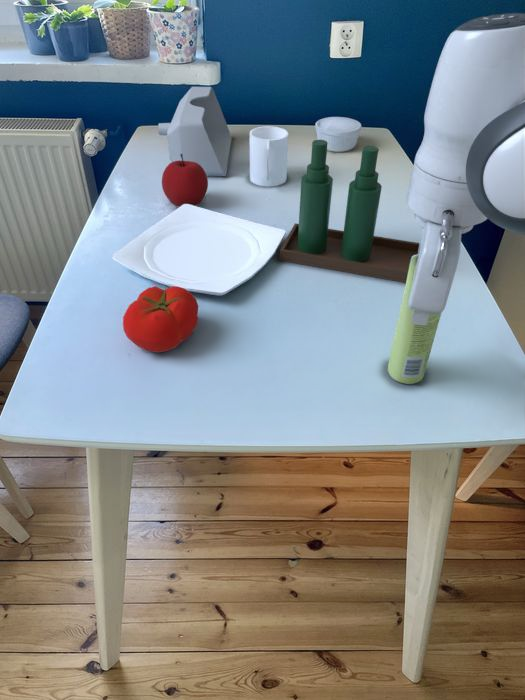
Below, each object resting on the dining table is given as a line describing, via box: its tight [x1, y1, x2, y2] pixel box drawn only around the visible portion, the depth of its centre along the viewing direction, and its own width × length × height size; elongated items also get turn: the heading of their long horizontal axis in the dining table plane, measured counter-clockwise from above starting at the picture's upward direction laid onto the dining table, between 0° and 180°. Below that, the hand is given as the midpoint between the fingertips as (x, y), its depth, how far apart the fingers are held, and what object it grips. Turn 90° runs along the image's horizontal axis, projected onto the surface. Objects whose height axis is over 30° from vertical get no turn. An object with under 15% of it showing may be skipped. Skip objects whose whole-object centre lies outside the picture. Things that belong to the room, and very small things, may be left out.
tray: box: [279, 222, 420, 284], centre depth 95 cm, size 25×10×2 cm, turn 72°
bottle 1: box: [297, 139, 334, 255], centre depth 91 cm, size 5×5×19 cm
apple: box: [161, 154, 209, 208], centre depth 108 cm, size 9×9×10 cm
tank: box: [157, 86, 232, 177], centre depth 126 cm, size 25×16×12 cm, turn 179°
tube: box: [387, 254, 442, 385], centre depth 68 cm, size 6×5×20 cm
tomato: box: [122, 285, 199, 353], centre depth 78 cm, size 10×11×6 cm
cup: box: [249, 125, 289, 188], centre depth 116 cm, size 8×12×10 cm
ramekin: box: [314, 116, 362, 153], centre depth 134 cm, size 11×11×5 cm
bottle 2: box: [341, 145, 382, 262], centre depth 89 cm, size 5×5×19 cm
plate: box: [111, 204, 287, 296], centre depth 95 cm, size 24×24×3 cm
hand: (422, 298), depth 66 cm, fingers open, 8 cm apart
